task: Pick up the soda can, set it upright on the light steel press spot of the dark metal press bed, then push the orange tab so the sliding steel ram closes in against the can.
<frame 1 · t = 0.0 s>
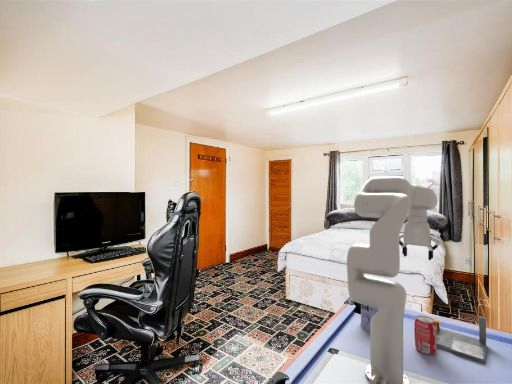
hand: (417, 257, 118), 31 cm above the table, fingers open, 9 cm apart
ram: (432, 329, 109), point 3 cm above the table, slide at 0.0 cm
aerosol can: (369, 327, 118), on the table
soda can: (425, 350, 100), on the table
press bed: (452, 343, 105), on the table
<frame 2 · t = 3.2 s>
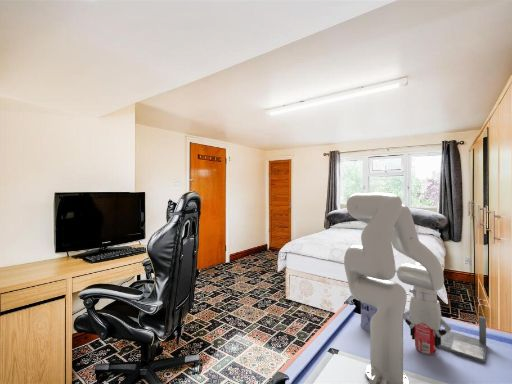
hand: (425, 341, 100), 3 cm above the table, fingers closed on soda can, 7 cm apart
soda can: (425, 350, 100), on the table, touching gripper
everything else where it was.
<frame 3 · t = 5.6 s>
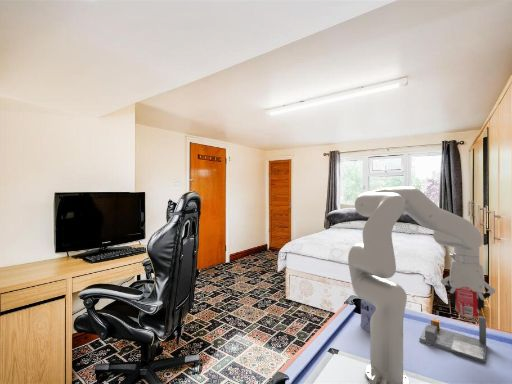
hand: (466, 305, 99), 18 cm above the table, fingers closed on soda can, 7 cm apart
soda can: (466, 315, 99), point 14 cm above the table, touching gripper
everything else where it was.
when the fingers open (6 cm above the table, at t = 8.2 s): soda can drops 1 cm, resting on press bed.
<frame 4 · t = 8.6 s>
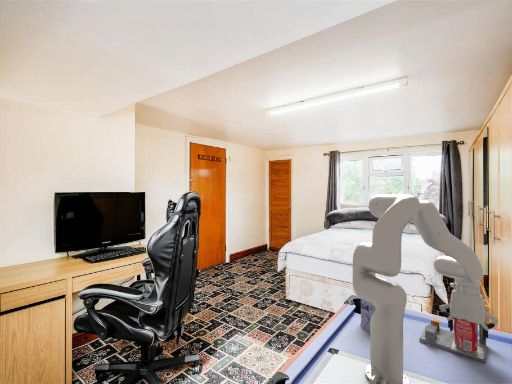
hand: (467, 334, 98), 7 cm above the table, fingers open, 9 cm apart
soda can: (465, 348, 99), point 1 cm above the table, touching press bed
everything else where it was.
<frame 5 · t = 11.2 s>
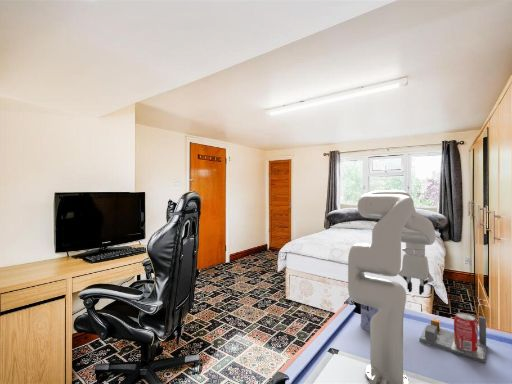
hand: (415, 292, 119), 15 cm above the table, fingers open, 3 cm apart
nothing on the table moved.
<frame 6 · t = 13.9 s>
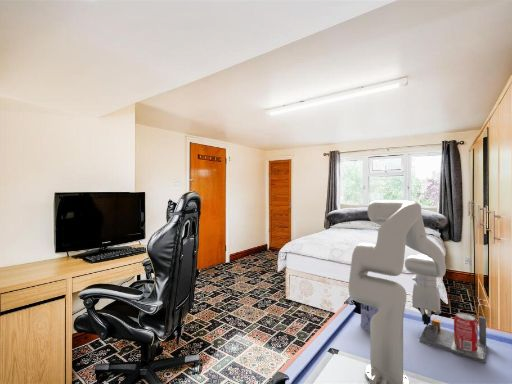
hand: (426, 323, 116), 2 cm above the table, fingers closed
ram: (433, 329, 109), point 3 cm above the table, slide at 0.2 cm, touching gripper
everything else where it was.
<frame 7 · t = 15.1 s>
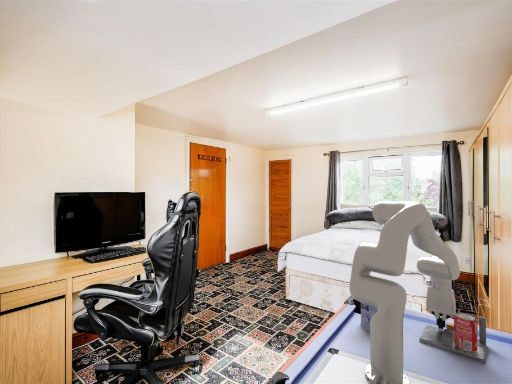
hand: (440, 327, 112), 2 cm above the table, fingers closed
ram: (449, 334, 105), point 3 cm above the table, slide at 5.5 cm, touching gripper, press bed
everything else where it was.
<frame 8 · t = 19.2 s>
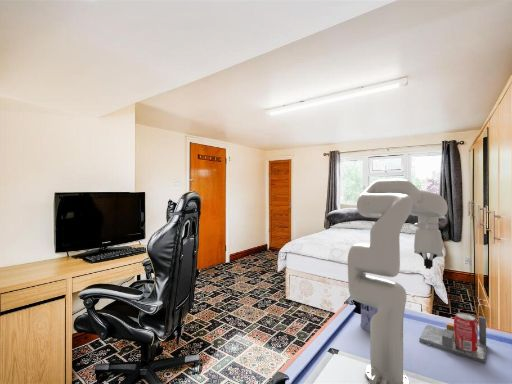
hand: (428, 268, 116), 27 cm above the table, fingers closed
ram: (449, 334, 105), point 3 cm above the table, slide at 5.6 cm, touching press bed
everything else where it was.
at the end: soda can inside the target area on the press bed (0.5 cm from its centre), point 1.4 cm above the press bed's base; soda can tilted 0°; ram slide at 5.6 cm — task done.
